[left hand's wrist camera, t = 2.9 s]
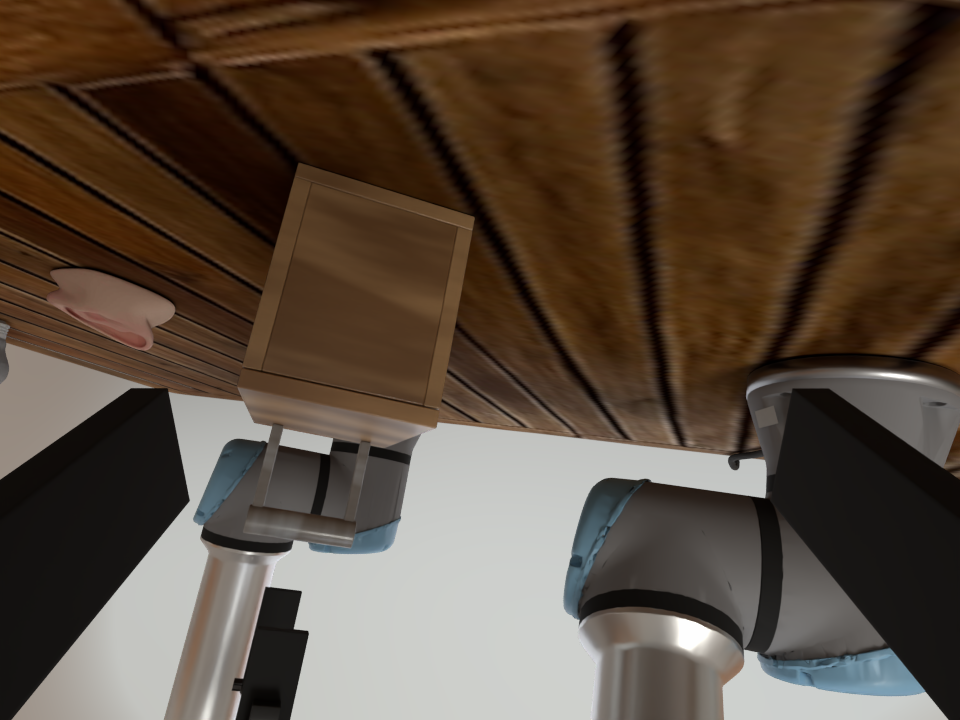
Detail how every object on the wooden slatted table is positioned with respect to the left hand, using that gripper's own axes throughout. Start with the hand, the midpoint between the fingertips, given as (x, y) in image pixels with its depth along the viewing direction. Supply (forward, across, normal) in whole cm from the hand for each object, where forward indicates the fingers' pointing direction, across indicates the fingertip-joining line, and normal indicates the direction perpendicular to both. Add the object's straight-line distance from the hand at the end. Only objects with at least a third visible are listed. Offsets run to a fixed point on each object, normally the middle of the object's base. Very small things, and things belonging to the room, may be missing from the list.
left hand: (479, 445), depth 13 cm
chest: (+28, +7, 0) cm, 29 cm away
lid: (+22, +9, +9) cm, 25 cm away
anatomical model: (+47, +36, +8) cm, 60 cm away
